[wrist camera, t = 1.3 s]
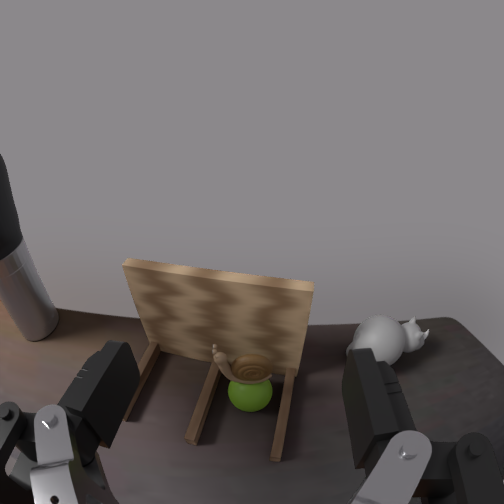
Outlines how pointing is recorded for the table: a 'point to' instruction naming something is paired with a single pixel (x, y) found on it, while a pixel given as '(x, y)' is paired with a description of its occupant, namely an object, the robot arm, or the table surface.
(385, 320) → the chubby cartoon animal
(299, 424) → the table surface
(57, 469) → the robot arm
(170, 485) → the table surface
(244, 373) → the snail figurine
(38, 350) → the table surface
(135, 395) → the lane rack
